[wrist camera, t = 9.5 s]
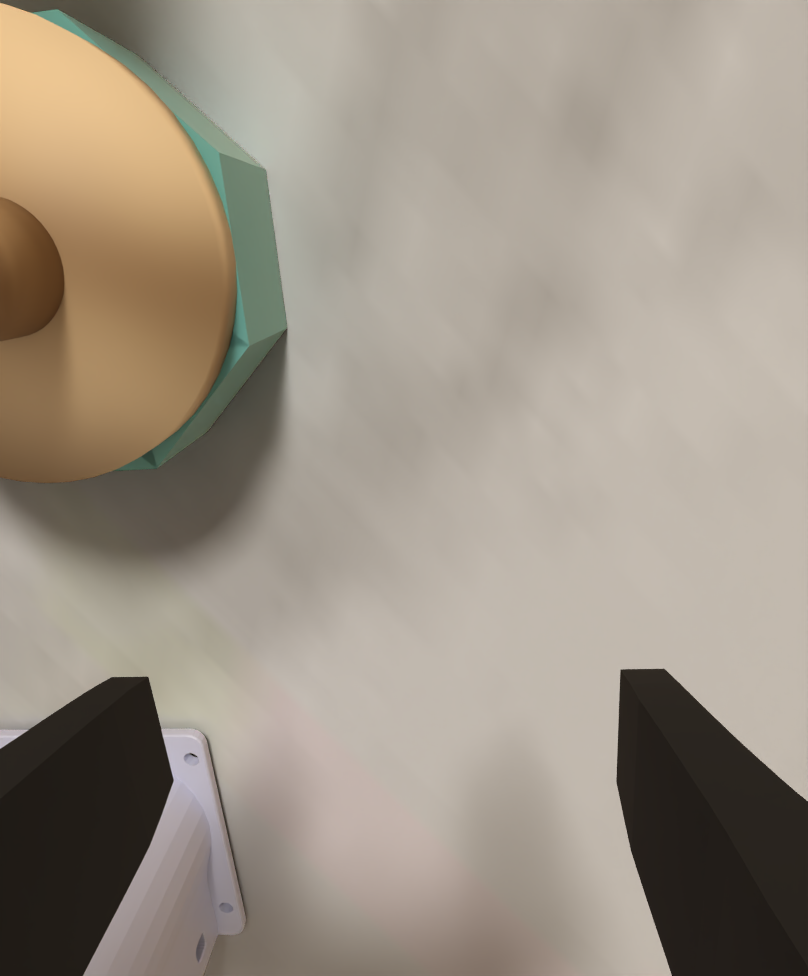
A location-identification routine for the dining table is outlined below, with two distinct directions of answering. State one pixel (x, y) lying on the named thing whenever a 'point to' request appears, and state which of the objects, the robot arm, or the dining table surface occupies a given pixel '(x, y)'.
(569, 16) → the dining table surface
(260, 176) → the bowl
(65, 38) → the lid
